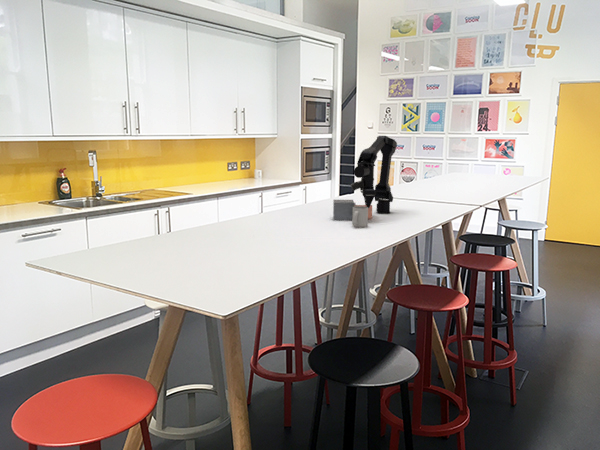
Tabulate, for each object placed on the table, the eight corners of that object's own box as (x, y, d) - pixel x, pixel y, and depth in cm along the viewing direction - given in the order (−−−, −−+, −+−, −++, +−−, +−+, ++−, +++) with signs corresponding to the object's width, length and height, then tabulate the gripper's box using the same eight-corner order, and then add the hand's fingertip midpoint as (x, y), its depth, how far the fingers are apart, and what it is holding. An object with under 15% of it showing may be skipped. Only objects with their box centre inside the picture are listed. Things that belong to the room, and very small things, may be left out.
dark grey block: (354, 216, 262) (354, 199, 260) (355, 220, 253) (356, 202, 251) (333, 216, 263) (333, 199, 261) (333, 220, 253) (333, 202, 251)
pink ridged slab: (371, 217, 258) (371, 205, 257) (372, 218, 256) (372, 205, 255) (338, 217, 259) (338, 204, 258) (338, 218, 257) (338, 205, 255)
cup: (370, 225, 240) (370, 207, 239) (361, 229, 232) (361, 210, 230) (356, 224, 244) (356, 205, 242) (347, 227, 236) (347, 208, 234)
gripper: (350, 174, 262) (350, 203, 266) (352, 178, 244) (352, 209, 247) (372, 174, 262) (371, 203, 265) (376, 178, 244) (375, 209, 247)
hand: (367, 206), depth 256 cm, fingers open, 9 cm apart
